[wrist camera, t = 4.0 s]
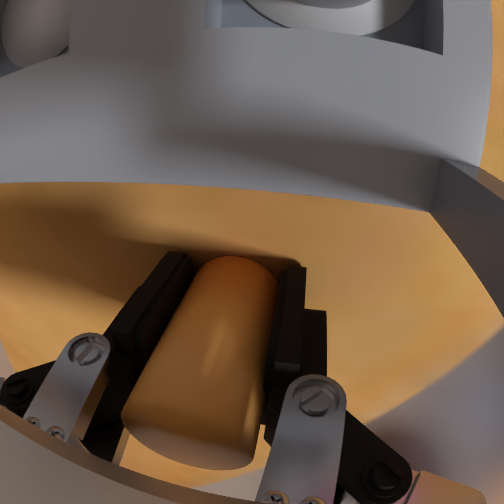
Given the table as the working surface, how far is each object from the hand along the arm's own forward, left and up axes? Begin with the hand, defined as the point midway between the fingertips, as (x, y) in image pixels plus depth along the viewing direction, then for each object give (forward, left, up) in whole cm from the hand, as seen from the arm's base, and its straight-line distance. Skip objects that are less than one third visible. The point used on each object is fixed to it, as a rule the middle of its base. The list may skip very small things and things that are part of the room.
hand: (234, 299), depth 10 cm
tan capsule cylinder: (0, 0, 0) cm, 0 cm away
